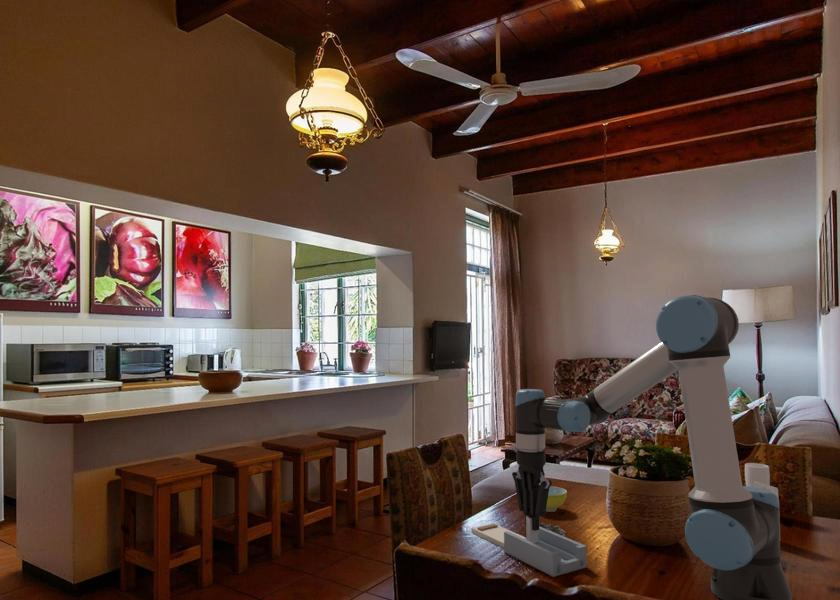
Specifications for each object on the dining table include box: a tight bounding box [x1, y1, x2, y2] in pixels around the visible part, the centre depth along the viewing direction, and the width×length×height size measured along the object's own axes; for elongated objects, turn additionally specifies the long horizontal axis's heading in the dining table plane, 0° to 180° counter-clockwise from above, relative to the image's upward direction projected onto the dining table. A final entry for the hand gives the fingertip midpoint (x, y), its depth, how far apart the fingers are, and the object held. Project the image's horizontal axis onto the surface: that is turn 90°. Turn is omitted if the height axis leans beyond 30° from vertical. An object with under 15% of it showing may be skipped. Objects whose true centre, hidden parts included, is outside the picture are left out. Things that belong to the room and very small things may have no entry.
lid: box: [470, 522, 526, 549], centre depth 158 cm, size 16×8×2 cm, turn 32°
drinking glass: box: [744, 462, 771, 491], centre depth 181 cm, size 7×7×15 cm
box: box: [503, 526, 588, 578], centre depth 144 cm, size 18×11×5 cm, turn 31°
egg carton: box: [539, 522, 567, 537], centre depth 157 cm, size 11×8×4 cm
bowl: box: [546, 485, 568, 513], centre depth 184 cm, size 11×12×6 cm
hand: (532, 541), depth 148 cm, fingers closed
